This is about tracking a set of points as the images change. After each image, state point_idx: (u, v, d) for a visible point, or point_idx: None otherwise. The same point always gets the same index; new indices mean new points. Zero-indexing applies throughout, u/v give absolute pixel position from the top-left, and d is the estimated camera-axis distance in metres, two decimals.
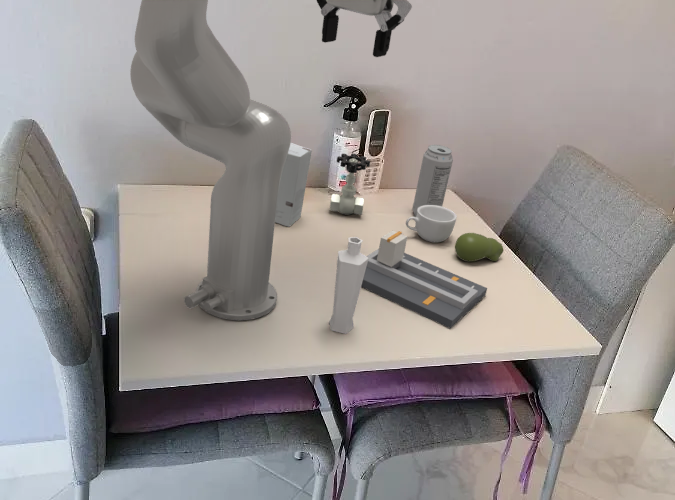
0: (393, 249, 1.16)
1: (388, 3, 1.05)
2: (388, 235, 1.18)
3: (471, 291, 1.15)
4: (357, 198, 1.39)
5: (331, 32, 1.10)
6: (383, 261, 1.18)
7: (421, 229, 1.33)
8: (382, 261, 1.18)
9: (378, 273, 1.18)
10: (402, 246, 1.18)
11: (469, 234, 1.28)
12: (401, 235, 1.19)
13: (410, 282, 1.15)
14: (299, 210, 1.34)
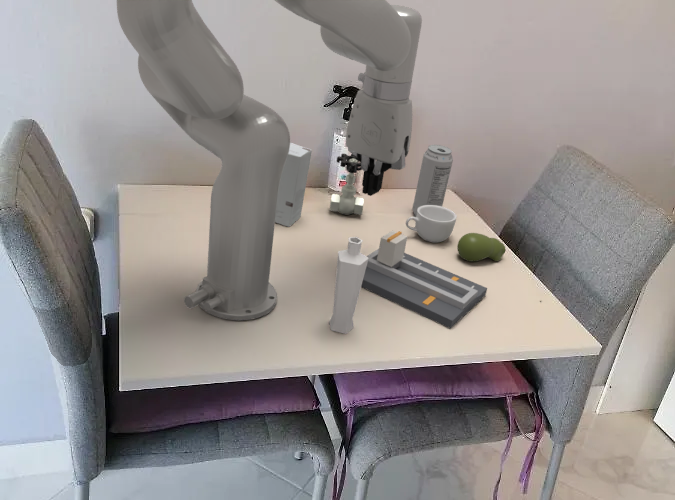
0: (393, 249, 1.16)
1: None
2: (388, 235, 1.18)
3: (471, 291, 1.15)
4: (357, 198, 1.39)
5: None
6: (383, 261, 1.18)
7: (421, 229, 1.33)
8: (382, 261, 1.18)
9: (378, 273, 1.18)
10: (402, 246, 1.18)
11: (471, 234, 1.28)
12: (401, 235, 1.19)
13: (410, 282, 1.15)
14: (299, 210, 1.34)
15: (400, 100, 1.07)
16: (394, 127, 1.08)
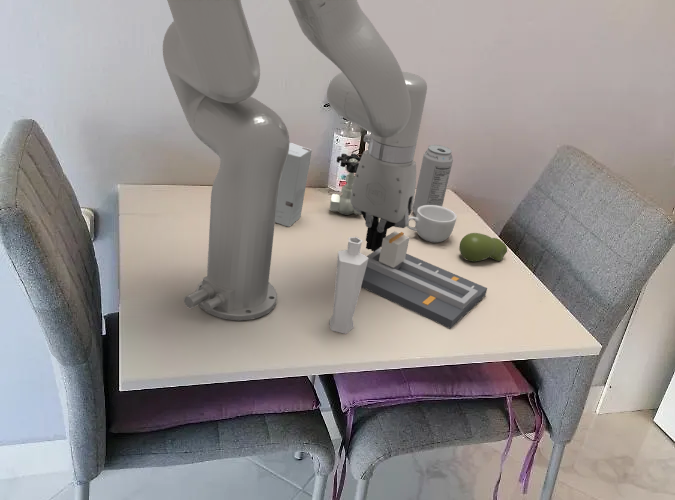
0: (395, 250, 1.16)
1: (407, 207, 1.17)
2: (390, 236, 1.18)
3: (471, 291, 1.15)
4: None
5: None
6: (385, 262, 1.18)
7: (421, 229, 1.33)
8: (384, 262, 1.18)
9: (378, 273, 1.18)
10: (404, 247, 1.18)
11: (473, 234, 1.29)
12: (403, 236, 1.18)
13: (410, 282, 1.15)
14: (299, 210, 1.34)
15: (405, 163, 1.10)
16: (399, 188, 1.11)
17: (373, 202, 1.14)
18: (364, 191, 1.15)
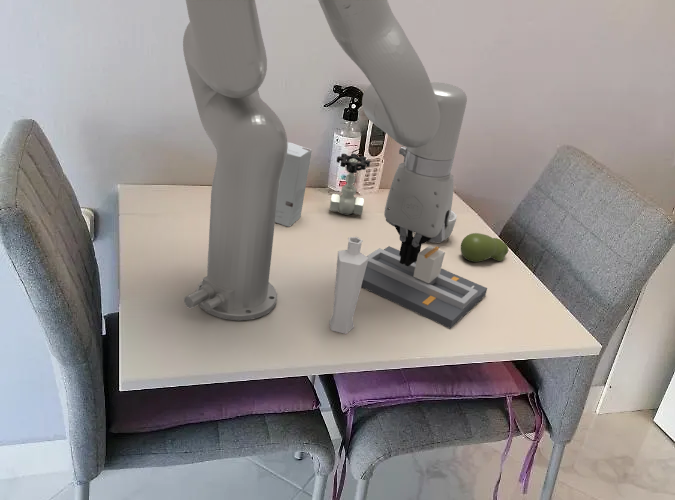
0: (431, 265, 1.13)
1: None
2: (425, 251, 1.15)
3: (471, 291, 1.15)
4: (357, 198, 1.39)
5: None
6: (420, 277, 1.15)
7: None
8: (419, 277, 1.15)
9: (378, 273, 1.18)
10: (439, 262, 1.15)
11: (475, 234, 1.29)
12: (438, 250, 1.15)
13: (410, 282, 1.15)
14: (299, 210, 1.34)
15: (443, 176, 1.07)
16: (436, 203, 1.08)
17: (409, 216, 1.11)
18: (399, 205, 1.12)
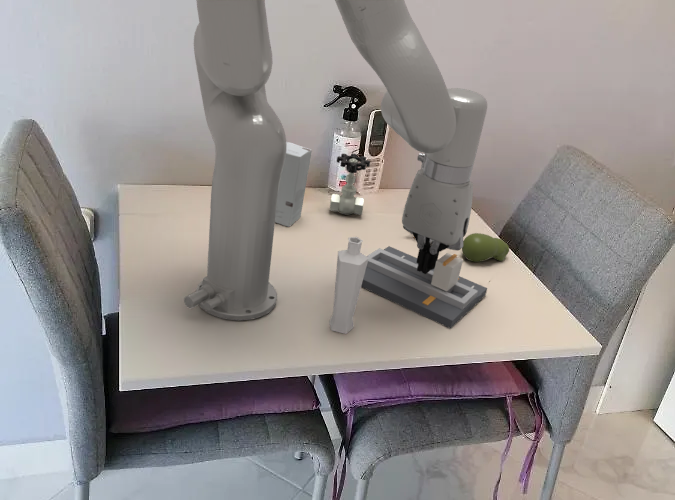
0: (449, 273, 1.11)
1: None
2: (443, 258, 1.13)
3: (471, 291, 1.15)
4: (357, 198, 1.39)
5: None
6: (438, 285, 1.13)
7: None
8: (437, 285, 1.14)
9: (378, 273, 1.18)
10: (458, 270, 1.14)
11: (476, 234, 1.29)
12: (456, 258, 1.14)
13: (410, 282, 1.15)
14: (299, 210, 1.34)
15: (462, 183, 1.06)
16: (455, 210, 1.06)
17: (427, 223, 1.10)
18: (417, 212, 1.10)
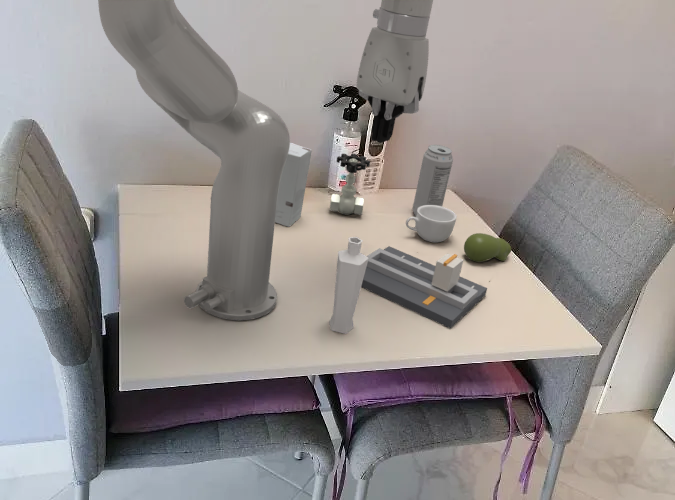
0: (450, 273, 1.11)
1: None
2: (444, 259, 1.13)
3: (471, 291, 1.15)
4: (357, 198, 1.39)
5: None
6: (438, 285, 1.13)
7: (421, 229, 1.33)
8: (437, 285, 1.13)
9: (378, 273, 1.18)
10: (458, 270, 1.14)
11: (478, 235, 1.29)
12: (457, 258, 1.14)
13: (410, 282, 1.15)
14: (299, 210, 1.34)
15: (416, 36, 1.01)
16: (408, 65, 1.02)
17: (380, 83, 1.05)
18: (371, 71, 1.06)
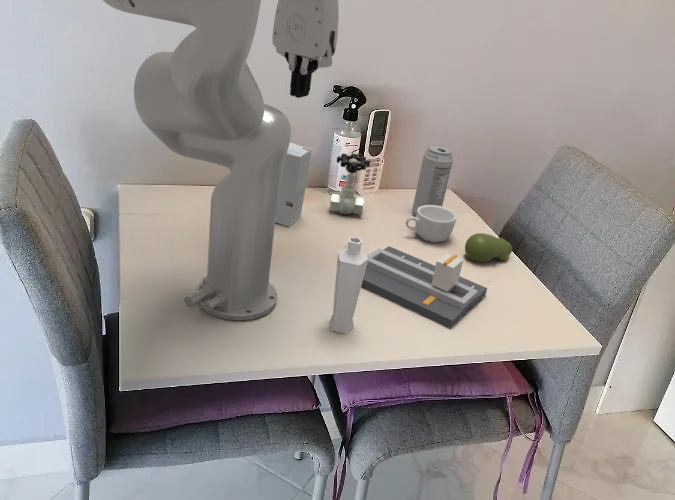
0: (450, 273, 1.11)
1: (331, 47, 1.11)
2: (444, 259, 1.13)
3: (471, 291, 1.15)
4: (357, 198, 1.39)
5: None
6: (438, 285, 1.13)
7: (421, 229, 1.33)
8: (437, 285, 1.13)
9: (378, 273, 1.18)
10: (458, 270, 1.14)
11: (479, 235, 1.29)
12: (457, 258, 1.14)
13: (410, 282, 1.15)
14: (299, 210, 1.34)
15: None
16: (318, 19, 1.05)
17: (294, 38, 1.09)
18: (285, 27, 1.09)
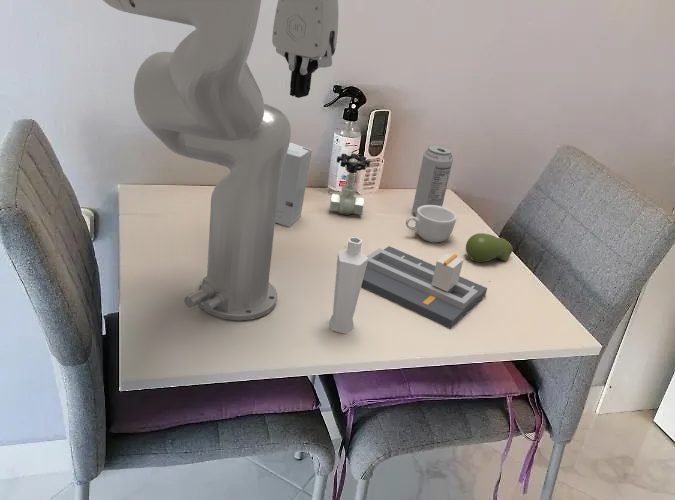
0: (450, 273, 1.11)
1: (331, 47, 1.11)
2: (444, 259, 1.13)
3: (471, 291, 1.15)
4: (357, 198, 1.39)
5: None
6: (438, 285, 1.13)
7: (421, 229, 1.33)
8: (437, 285, 1.13)
9: (378, 273, 1.18)
10: (458, 270, 1.14)
11: (480, 235, 1.29)
12: (457, 258, 1.14)
13: (410, 282, 1.15)
14: (299, 210, 1.34)
15: None
16: (318, 19, 1.05)
17: (294, 38, 1.09)
18: (284, 27, 1.09)
